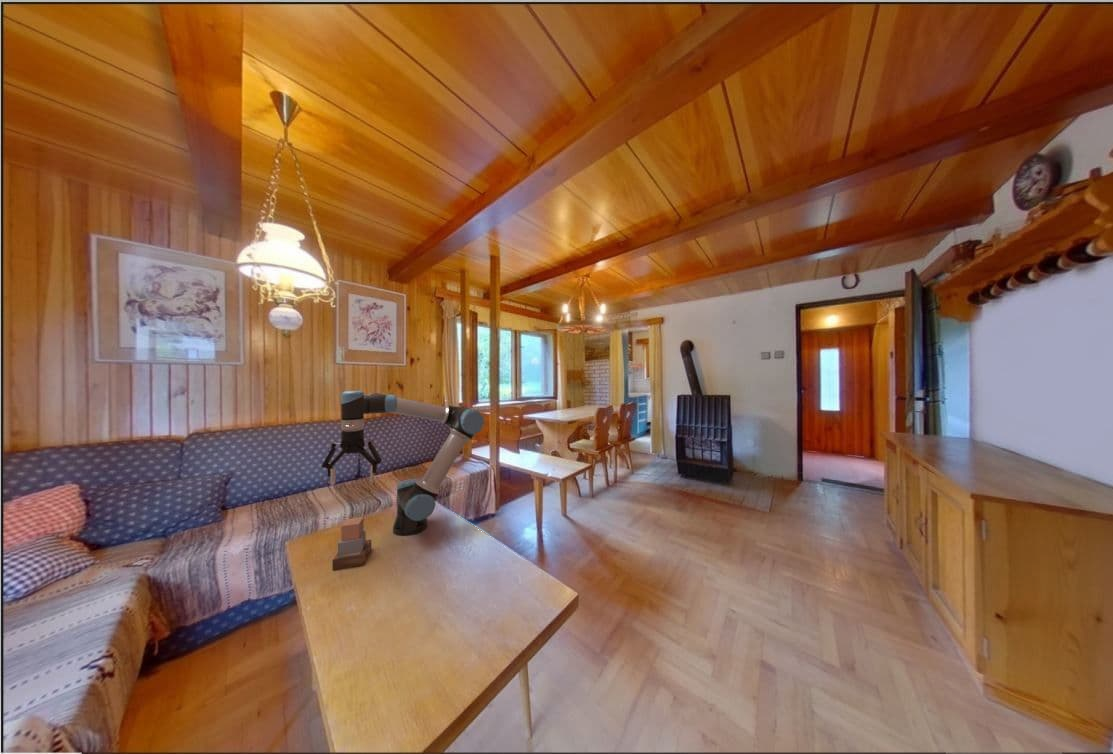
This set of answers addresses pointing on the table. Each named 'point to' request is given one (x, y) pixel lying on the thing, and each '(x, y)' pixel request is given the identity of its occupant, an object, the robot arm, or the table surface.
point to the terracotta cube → (352, 529)
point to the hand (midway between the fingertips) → (352, 482)
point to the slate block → (351, 545)
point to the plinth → (352, 558)
